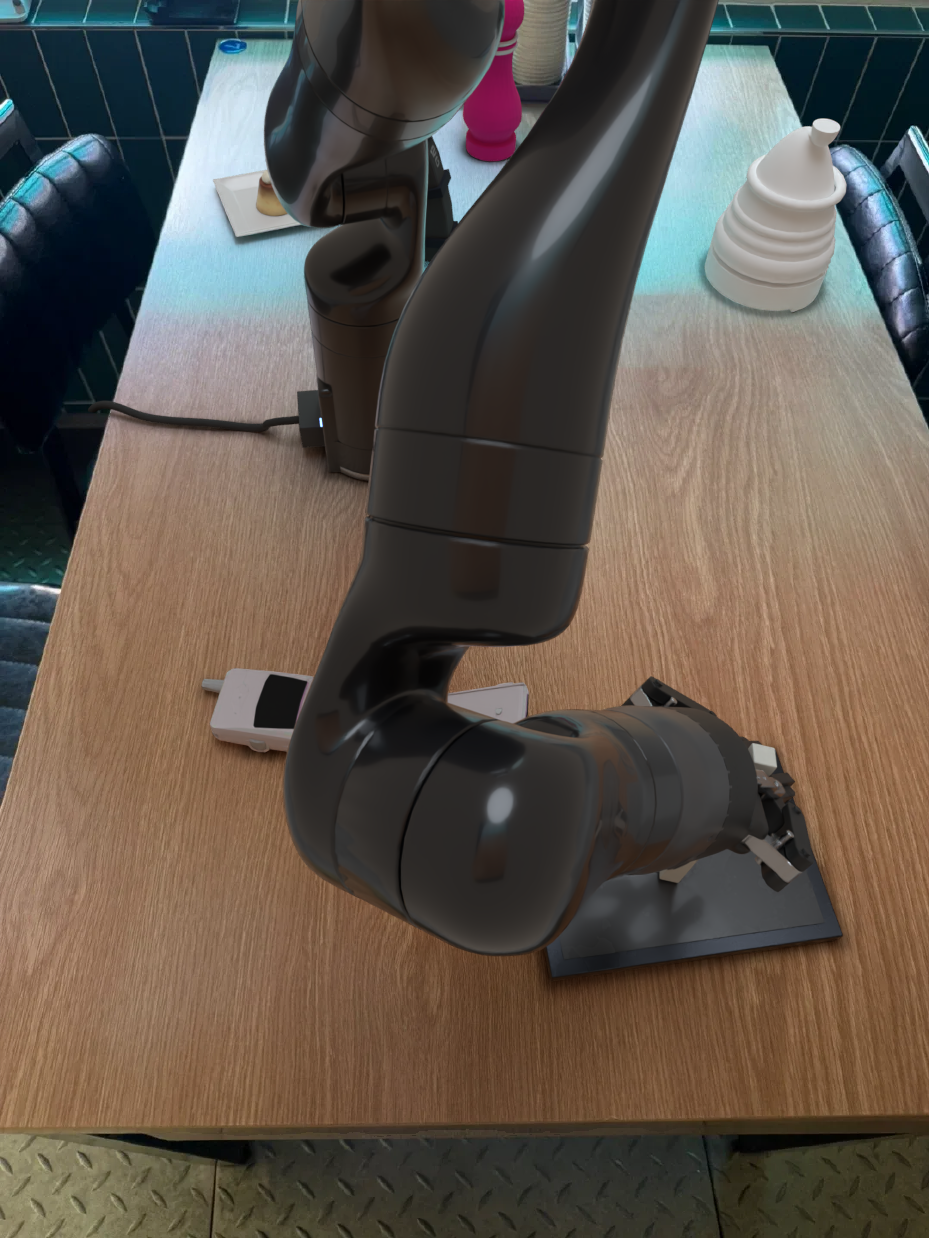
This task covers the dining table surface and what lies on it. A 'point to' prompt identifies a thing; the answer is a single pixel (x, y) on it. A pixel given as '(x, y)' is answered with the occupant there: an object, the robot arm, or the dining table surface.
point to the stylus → (762, 761)
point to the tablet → (692, 917)
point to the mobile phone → (273, 700)
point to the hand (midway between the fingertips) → (764, 771)
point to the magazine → (437, 203)
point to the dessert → (252, 204)
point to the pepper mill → (496, 98)
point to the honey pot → (780, 224)
